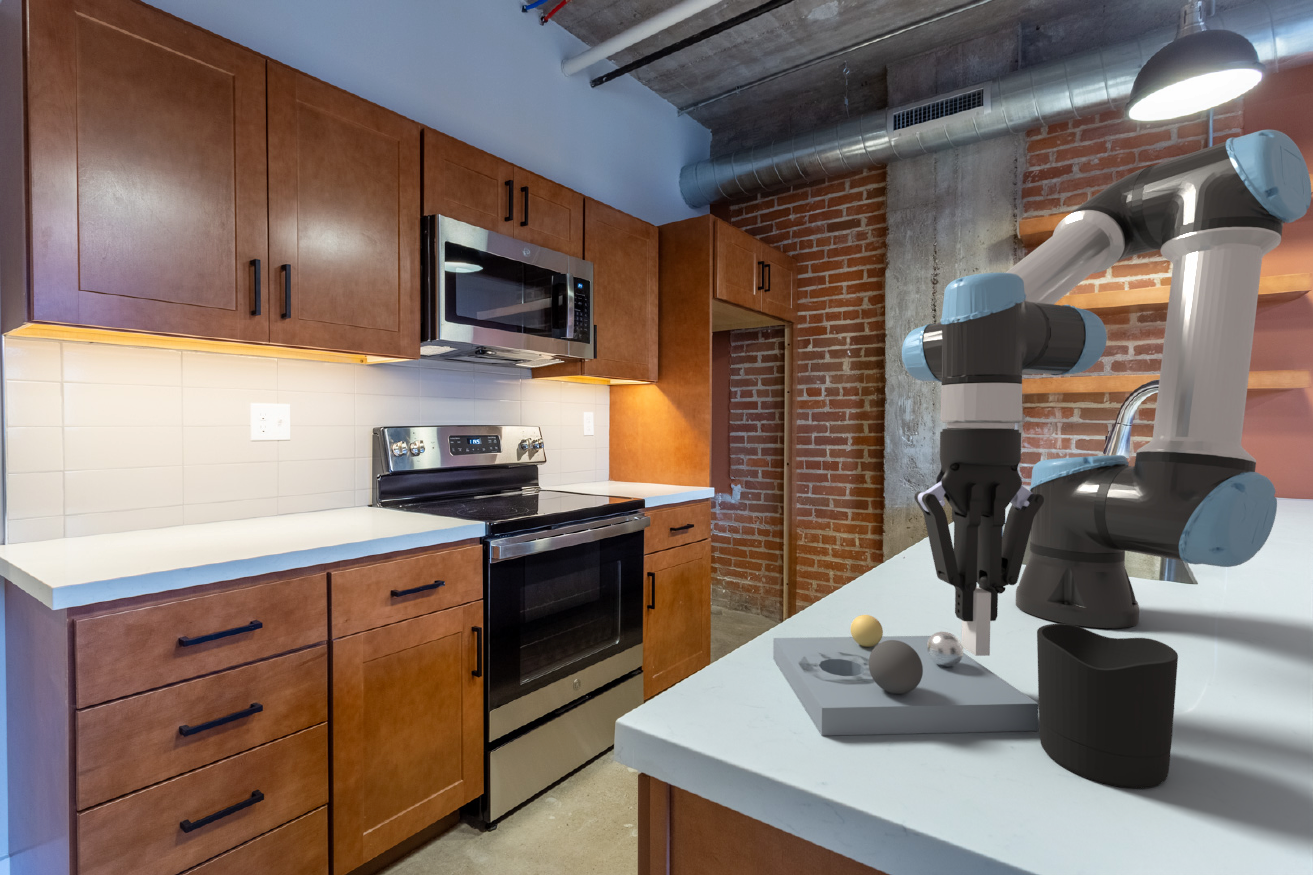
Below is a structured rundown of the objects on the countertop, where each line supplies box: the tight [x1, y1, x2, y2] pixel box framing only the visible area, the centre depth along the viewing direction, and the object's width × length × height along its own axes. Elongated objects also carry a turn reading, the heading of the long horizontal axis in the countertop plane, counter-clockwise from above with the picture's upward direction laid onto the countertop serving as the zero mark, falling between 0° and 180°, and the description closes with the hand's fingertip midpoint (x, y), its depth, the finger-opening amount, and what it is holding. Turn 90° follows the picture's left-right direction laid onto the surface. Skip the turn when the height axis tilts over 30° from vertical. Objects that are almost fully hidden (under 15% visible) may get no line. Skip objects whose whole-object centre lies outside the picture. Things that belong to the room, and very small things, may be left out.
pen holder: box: [1036, 623, 1179, 789], centre depth 52 cm, size 9×9×10 cm
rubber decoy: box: [869, 640, 923, 694], centre depth 59 cm, size 5×5×5 cm
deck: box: [772, 635, 1039, 736], centre depth 65 cm, size 20×18×2 cm
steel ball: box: [927, 631, 964, 667], centre depth 65 cm, size 4×4×4 cm
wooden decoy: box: [850, 614, 884, 647], centre depth 71 cm, size 4×4×4 cm
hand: (975, 650), depth 65 cm, fingers closed
